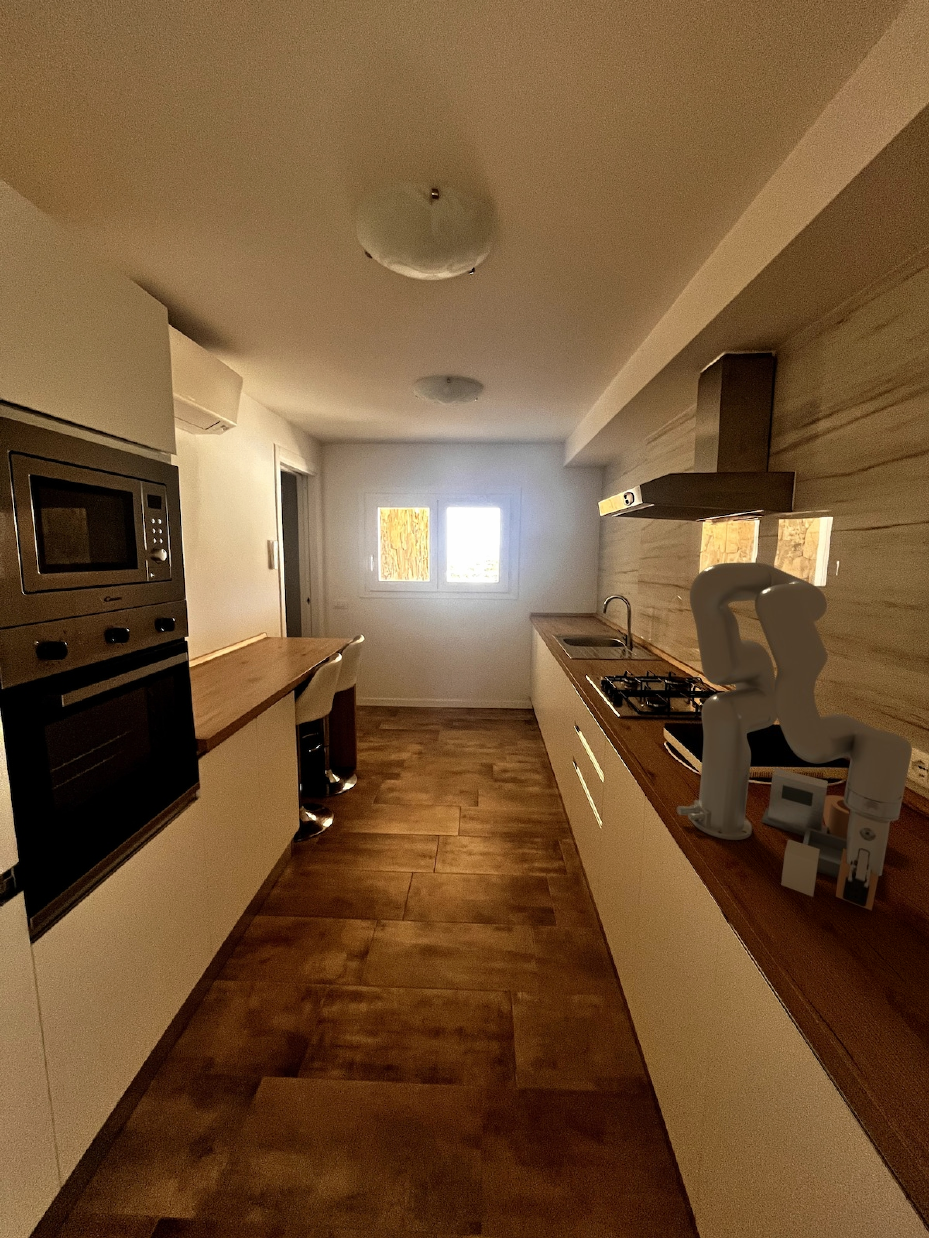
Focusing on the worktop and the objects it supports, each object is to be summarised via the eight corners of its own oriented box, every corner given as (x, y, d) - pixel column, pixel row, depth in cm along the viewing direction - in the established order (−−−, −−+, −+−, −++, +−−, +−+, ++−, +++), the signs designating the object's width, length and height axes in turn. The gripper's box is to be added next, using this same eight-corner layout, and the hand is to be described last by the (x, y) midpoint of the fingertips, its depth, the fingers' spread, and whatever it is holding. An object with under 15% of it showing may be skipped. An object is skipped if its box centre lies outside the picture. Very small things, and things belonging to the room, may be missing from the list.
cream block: (781, 884, 93) (785, 851, 92) (784, 871, 97) (788, 839, 96) (813, 896, 90) (817, 862, 89) (815, 882, 94) (819, 849, 93)
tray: (799, 865, 99) (800, 851, 99) (805, 839, 107) (806, 827, 107) (869, 889, 92) (871, 875, 92) (869, 860, 101) (871, 847, 100)
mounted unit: (761, 822, 114) (766, 774, 112) (765, 811, 118) (771, 765, 117) (825, 842, 106) (832, 791, 104) (827, 830, 111) (833, 780, 109)
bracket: (877, 851, 104) (881, 821, 103) (828, 839, 108) (832, 810, 107) (861, 811, 119) (865, 784, 118) (819, 802, 123) (823, 776, 122)
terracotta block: (835, 896, 88) (842, 862, 87) (837, 881, 92) (843, 848, 91) (871, 910, 85) (878, 874, 84) (871, 894, 89) (878, 860, 88)
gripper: (902, 832, 76) (881, 933, 80) (898, 789, 89) (880, 877, 93) (842, 814, 81) (825, 910, 85) (846, 775, 94) (831, 859, 97)
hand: (854, 891), depth 89 cm, fingers closed on terracotta block, 5 cm apart
